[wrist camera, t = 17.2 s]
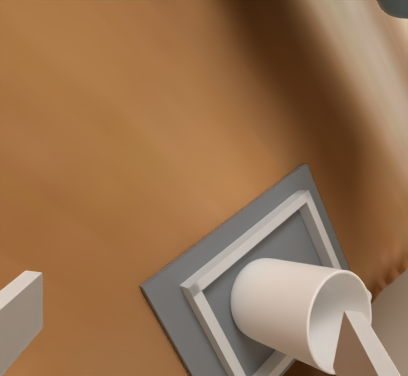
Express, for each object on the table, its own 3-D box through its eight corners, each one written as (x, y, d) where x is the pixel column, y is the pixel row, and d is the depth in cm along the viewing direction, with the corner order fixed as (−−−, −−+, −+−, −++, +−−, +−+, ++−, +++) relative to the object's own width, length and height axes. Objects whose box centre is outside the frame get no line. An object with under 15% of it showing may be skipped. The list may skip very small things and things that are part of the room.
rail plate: (301, 163, 44) (317, 161, 42) (351, 286, 48) (368, 290, 46) (139, 285, 32) (150, 290, 30) (223, 435, 36) (238, 448, 34)
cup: (223, 266, 36) (301, 283, 28) (306, 243, 43) (390, 252, 34) (232, 349, 37) (313, 392, 28) (313, 314, 43) (399, 340, 35)
